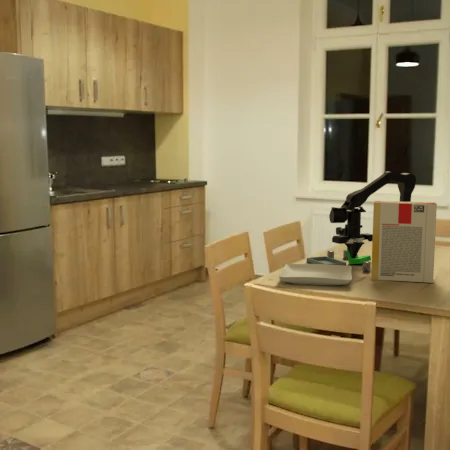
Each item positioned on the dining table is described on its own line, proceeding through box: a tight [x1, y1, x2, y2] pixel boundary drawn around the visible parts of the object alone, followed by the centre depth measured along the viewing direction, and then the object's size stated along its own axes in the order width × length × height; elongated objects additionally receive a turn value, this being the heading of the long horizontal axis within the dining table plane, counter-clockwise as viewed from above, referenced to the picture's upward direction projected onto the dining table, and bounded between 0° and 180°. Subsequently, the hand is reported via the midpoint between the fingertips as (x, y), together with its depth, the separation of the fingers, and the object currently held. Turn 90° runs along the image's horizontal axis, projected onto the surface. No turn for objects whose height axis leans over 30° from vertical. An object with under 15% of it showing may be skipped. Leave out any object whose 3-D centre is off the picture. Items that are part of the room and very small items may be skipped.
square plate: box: [278, 263, 353, 286], centre depth 238 cm, size 27×27×4 cm
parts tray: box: [306, 255, 347, 266], centre depth 266 cm, size 10×16×2 cm, turn 24°
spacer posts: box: [326, 249, 372, 273], centre depth 267 cm, size 19×31×4 cm, turn 24°
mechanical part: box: [346, 247, 372, 265], centre depth 269 cm, size 12×6×8 cm, turn 141°
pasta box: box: [370, 200, 438, 284], centre depth 236 cm, size 23×8×30 cm, turn 75°
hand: (353, 258), depth 265 cm, fingers closed
